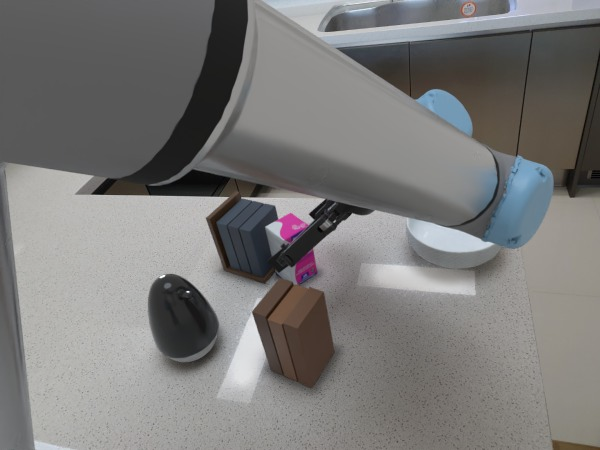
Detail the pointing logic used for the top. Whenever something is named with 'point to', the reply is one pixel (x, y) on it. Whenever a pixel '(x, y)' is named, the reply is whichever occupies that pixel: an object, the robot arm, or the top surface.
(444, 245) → the cereal bowl
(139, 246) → the top surface
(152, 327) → the dark grey egg shape
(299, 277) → the supplement box
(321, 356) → the brown books
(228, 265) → the slate books
